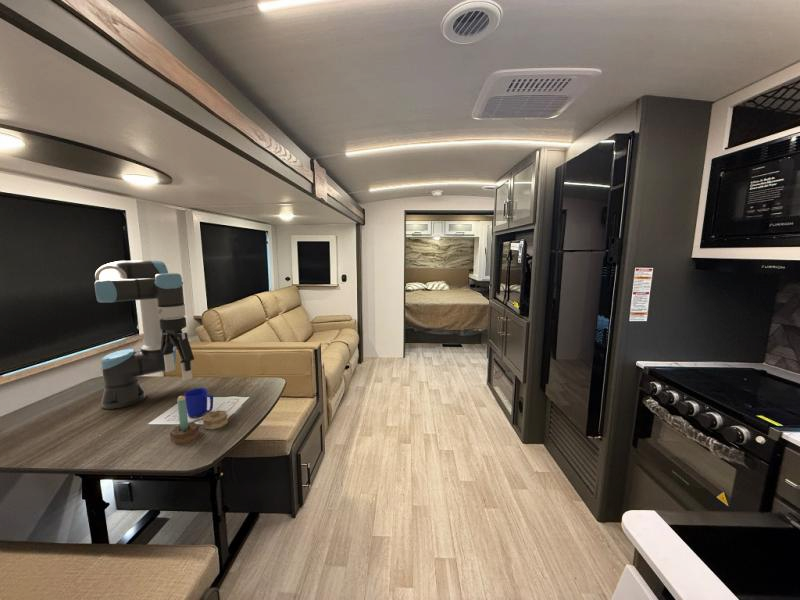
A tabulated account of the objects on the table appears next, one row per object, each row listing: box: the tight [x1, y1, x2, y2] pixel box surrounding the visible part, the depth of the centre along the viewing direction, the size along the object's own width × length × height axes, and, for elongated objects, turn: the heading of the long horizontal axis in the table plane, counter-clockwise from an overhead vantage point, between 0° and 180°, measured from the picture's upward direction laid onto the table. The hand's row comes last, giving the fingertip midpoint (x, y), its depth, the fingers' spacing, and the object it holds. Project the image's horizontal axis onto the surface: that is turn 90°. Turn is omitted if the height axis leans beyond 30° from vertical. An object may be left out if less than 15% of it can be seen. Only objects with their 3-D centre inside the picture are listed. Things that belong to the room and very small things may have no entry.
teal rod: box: [177, 395, 189, 431], centre depth 114 cm, size 2×2×16 cm
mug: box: [183, 387, 214, 418], centre depth 131 cm, size 8×12×10 cm
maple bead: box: [202, 409, 229, 430], centre depth 124 cm, size 8×8×4 cm
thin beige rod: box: [188, 414, 206, 423], centre depth 126 cm, size 14×1×1 cm, turn 147°
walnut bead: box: [169, 421, 200, 445], centre depth 115 cm, size 8×8×4 cm
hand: (178, 375), depth 112 cm, fingers open, 13 cm apart
